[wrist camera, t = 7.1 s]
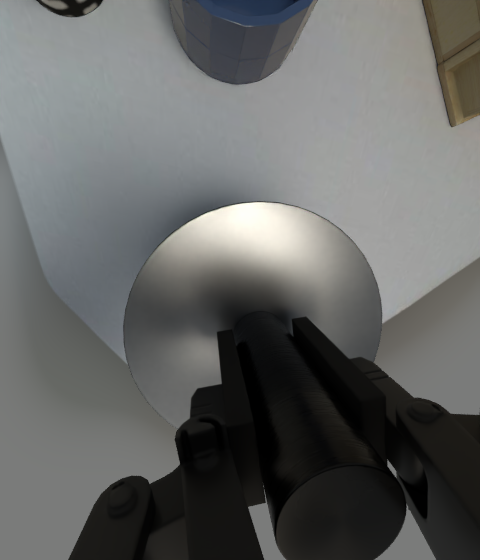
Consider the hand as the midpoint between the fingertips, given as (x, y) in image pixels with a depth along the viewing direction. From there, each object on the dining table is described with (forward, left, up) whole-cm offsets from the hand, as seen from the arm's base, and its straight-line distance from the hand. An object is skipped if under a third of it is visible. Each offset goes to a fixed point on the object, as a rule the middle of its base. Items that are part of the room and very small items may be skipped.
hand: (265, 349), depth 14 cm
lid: (0, 0, -2) cm, 2 cm away
